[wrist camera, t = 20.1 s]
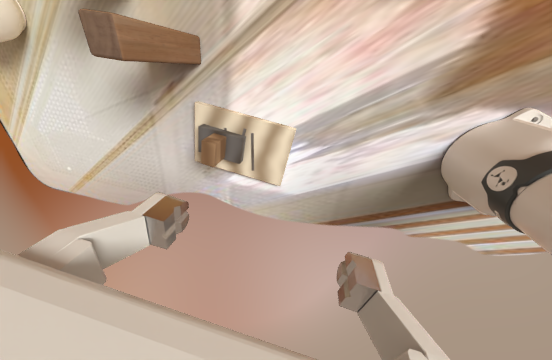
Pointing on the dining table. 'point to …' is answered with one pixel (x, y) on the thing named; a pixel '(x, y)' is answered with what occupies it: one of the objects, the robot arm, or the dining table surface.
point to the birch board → (250, 142)
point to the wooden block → (137, 39)
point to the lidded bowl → (11, 20)
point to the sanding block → (219, 145)
